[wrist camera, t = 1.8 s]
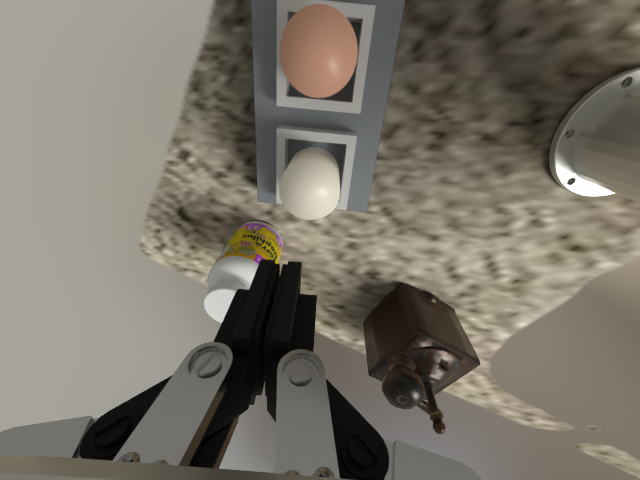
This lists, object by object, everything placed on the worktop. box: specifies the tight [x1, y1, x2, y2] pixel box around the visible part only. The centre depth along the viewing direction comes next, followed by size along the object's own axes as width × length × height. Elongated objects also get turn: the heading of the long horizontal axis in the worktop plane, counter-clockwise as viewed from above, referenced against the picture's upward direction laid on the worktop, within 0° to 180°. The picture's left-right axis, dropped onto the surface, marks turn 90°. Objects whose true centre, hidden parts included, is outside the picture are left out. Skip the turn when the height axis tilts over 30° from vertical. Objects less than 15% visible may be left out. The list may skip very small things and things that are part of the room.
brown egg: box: [280, 4, 358, 98], centre depth 19 cm, size 5×5×5 cm
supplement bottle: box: [204, 221, 283, 323], centre depth 32 cm, size 7×7×13 cm
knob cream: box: [279, 147, 340, 220], centre depth 24 cm, size 5×5×5 cm
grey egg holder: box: [251, 0, 405, 212], centre depth 27 cm, size 12×18×6 cm, turn 175°
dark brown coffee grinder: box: [363, 283, 480, 434], centre depth 35 cm, size 16×11×18 cm
